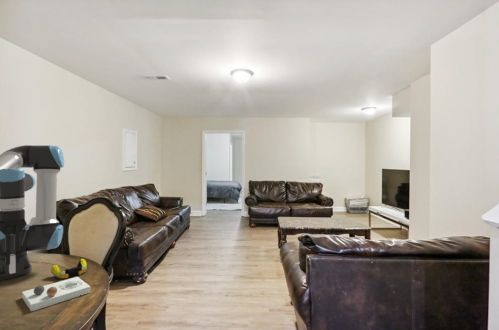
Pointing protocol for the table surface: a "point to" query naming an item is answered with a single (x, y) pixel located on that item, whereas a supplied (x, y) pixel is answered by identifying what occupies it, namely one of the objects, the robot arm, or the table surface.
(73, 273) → the gaming controller
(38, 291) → the ball
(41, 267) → the table surface
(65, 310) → the table surface
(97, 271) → the table surface
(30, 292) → the plate
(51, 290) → the wood ball
